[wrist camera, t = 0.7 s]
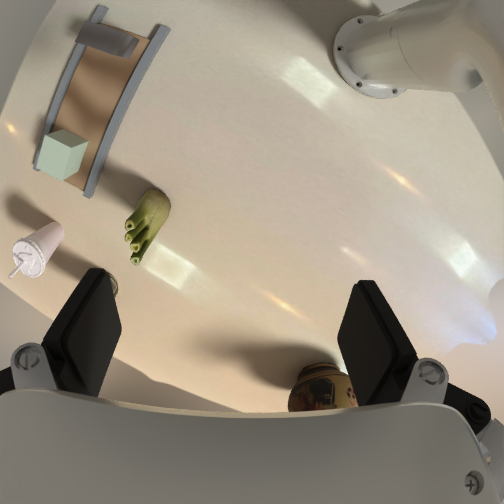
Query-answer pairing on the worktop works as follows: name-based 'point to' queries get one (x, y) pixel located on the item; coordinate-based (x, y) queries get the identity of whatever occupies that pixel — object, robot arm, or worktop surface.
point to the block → (61, 154)
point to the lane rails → (121, 106)
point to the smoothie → (36, 249)
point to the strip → (97, 88)
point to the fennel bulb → (146, 222)
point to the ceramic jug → (321, 389)
